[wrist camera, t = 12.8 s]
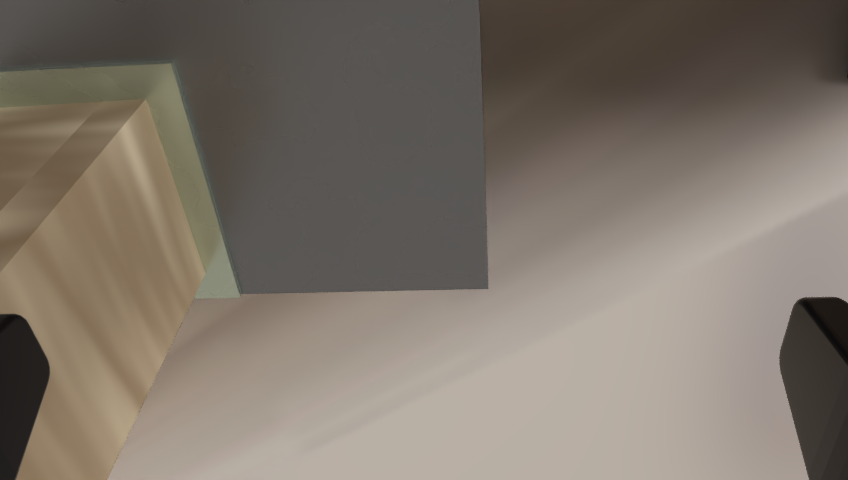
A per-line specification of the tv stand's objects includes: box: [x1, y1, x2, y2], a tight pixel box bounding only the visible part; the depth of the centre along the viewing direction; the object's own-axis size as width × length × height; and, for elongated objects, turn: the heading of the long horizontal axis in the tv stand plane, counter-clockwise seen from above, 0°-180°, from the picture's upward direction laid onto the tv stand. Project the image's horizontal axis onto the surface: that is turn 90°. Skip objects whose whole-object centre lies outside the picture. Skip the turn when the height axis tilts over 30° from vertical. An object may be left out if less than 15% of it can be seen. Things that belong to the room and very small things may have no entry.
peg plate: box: [0, 0, 488, 299], centre depth 18 cm, size 17×16×6 cm
